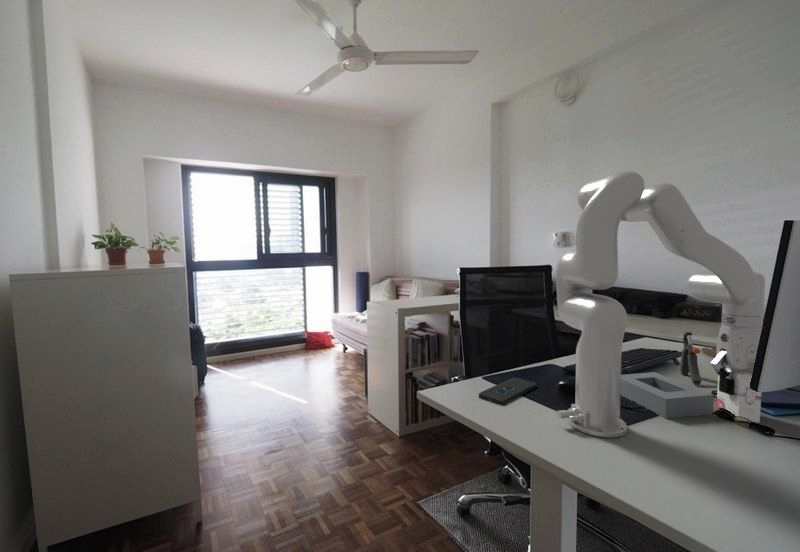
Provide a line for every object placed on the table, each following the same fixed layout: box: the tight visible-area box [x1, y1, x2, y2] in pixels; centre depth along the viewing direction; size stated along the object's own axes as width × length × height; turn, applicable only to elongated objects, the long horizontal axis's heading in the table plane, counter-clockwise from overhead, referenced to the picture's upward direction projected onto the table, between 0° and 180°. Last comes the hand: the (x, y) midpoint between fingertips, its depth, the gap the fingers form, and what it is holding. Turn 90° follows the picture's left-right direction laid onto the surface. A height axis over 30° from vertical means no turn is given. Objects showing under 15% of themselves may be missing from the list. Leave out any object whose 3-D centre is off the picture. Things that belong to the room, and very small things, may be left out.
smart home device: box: [478, 376, 537, 406], centre depth 112 cm, size 8×2×20 cm
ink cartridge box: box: [716, 368, 762, 424], centre depth 93 cm, size 9×5×15 cm, turn 169°
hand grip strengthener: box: [679, 331, 702, 386], centre depth 119 cm, size 2×12×15 cm, turn 159°
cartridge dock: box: [620, 372, 715, 419], centre depth 103 cm, size 14×18×5 cm
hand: (738, 391), depth 93 cm, fingers closed on ink cartridge box, 6 cm apart
